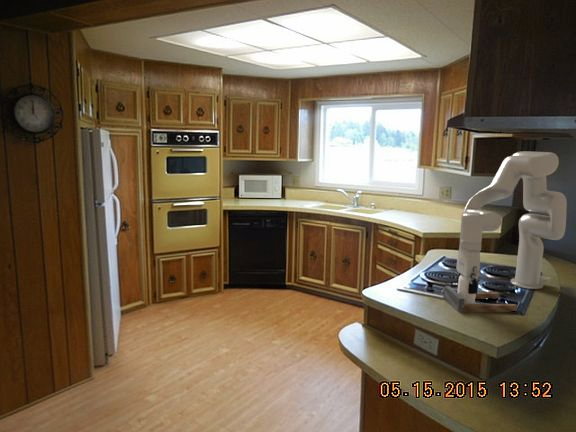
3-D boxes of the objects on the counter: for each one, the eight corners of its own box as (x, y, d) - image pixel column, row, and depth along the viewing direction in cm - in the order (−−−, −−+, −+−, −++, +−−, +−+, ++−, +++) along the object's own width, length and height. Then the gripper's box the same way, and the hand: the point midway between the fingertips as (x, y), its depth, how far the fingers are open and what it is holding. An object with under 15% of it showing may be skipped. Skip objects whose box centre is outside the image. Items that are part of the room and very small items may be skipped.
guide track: (497, 298, 173) (498, 286, 173) (516, 312, 160) (518, 299, 159) (443, 298, 173) (444, 286, 172) (457, 311, 159) (459, 298, 158)
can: (472, 309, 161) (475, 278, 159) (454, 305, 165) (457, 275, 163) (476, 304, 167) (479, 274, 165) (458, 300, 170) (461, 271, 168)
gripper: (451, 240, 170) (448, 281, 174) (470, 251, 153) (467, 297, 157) (469, 239, 171) (466, 281, 174) (491, 251, 154) (487, 297, 157)
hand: (466, 288), depth 165 cm, fingers open, 9 cm apart
